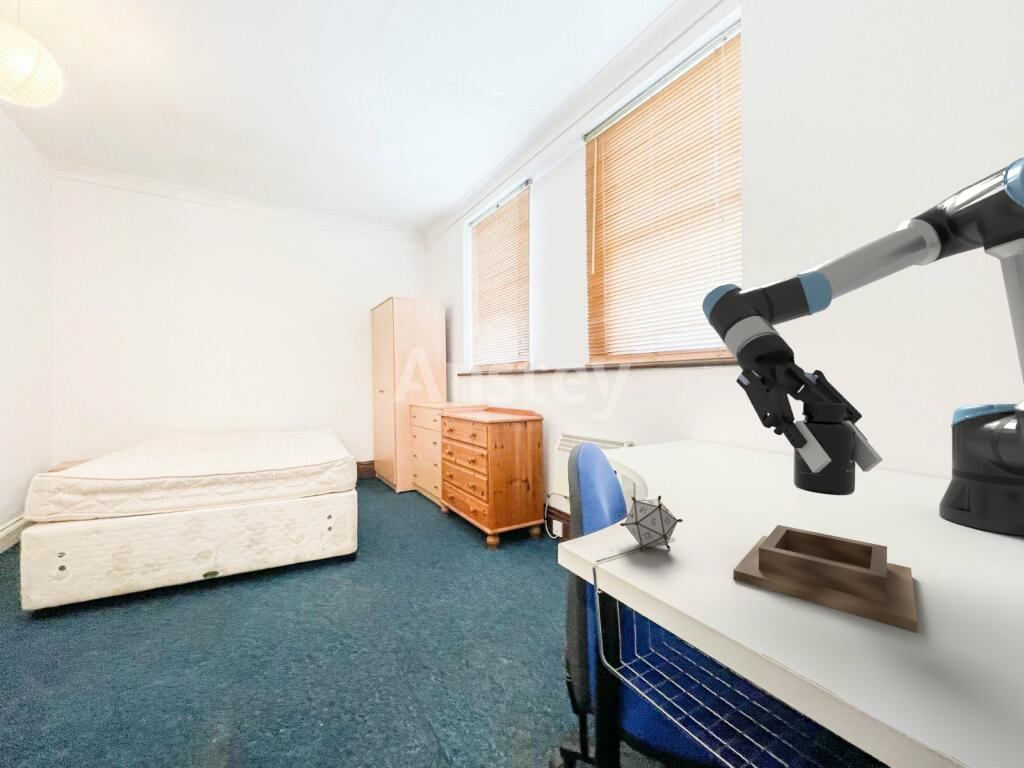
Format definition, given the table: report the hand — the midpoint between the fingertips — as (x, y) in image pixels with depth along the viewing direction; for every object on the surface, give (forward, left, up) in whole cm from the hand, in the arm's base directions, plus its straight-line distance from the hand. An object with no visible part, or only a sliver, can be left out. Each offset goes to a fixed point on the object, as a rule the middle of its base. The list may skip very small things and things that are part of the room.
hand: (847, 465), depth 54 cm
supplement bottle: (+3, -2, -4) cm, 6 cm away
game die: (+25, +4, -16) cm, 30 cm away
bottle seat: (+3, -2, -16) cm, 16 cm away
